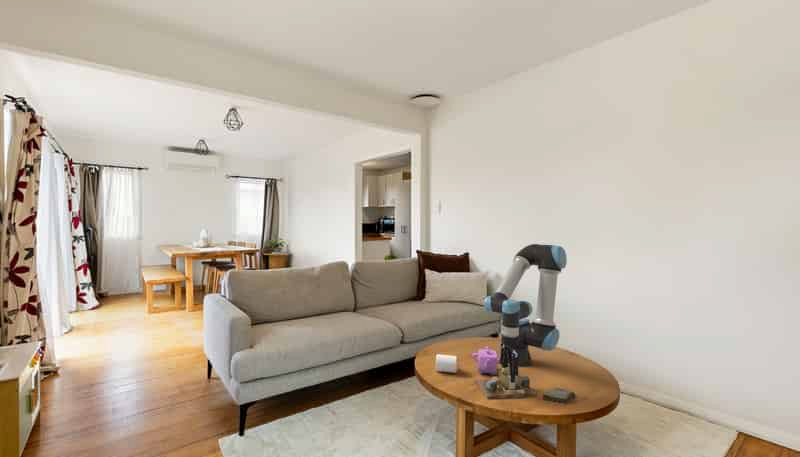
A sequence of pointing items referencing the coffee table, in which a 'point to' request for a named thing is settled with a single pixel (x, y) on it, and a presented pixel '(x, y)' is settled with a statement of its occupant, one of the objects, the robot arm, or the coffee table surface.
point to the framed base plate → (504, 391)
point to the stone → (558, 395)
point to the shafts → (493, 383)
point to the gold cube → (506, 379)
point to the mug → (446, 363)
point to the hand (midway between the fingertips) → (508, 385)
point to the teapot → (487, 361)
